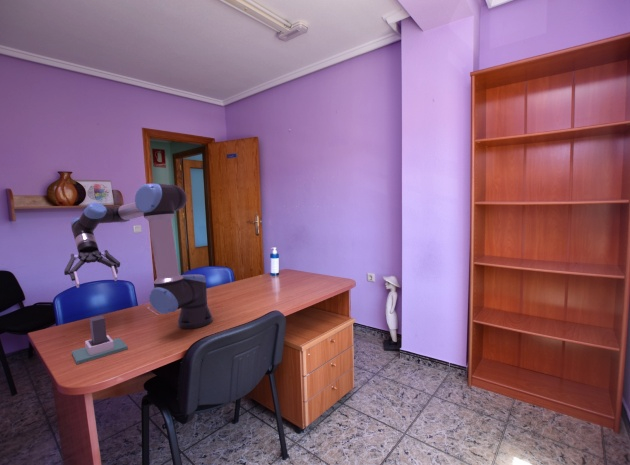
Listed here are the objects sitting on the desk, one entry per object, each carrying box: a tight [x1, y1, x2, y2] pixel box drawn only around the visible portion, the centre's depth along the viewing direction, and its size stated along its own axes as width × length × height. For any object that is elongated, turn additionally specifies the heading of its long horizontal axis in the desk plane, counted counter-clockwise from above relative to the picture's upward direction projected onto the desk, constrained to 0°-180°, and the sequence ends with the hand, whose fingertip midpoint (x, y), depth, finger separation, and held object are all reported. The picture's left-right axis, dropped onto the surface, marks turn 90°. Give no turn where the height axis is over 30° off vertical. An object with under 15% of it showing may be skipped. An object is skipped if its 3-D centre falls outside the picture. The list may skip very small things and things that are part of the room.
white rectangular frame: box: [147, 305, 179, 316], centre depth 172 cm, size 11×1×18 cm
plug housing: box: [89, 314, 107, 346], centre depth 121 cm, size 4×5×12 cm
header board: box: [71, 334, 129, 365], centre depth 121 cm, size 16×12×4 cm
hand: (97, 282), depth 134 cm, fingers open, 13 cm apart
